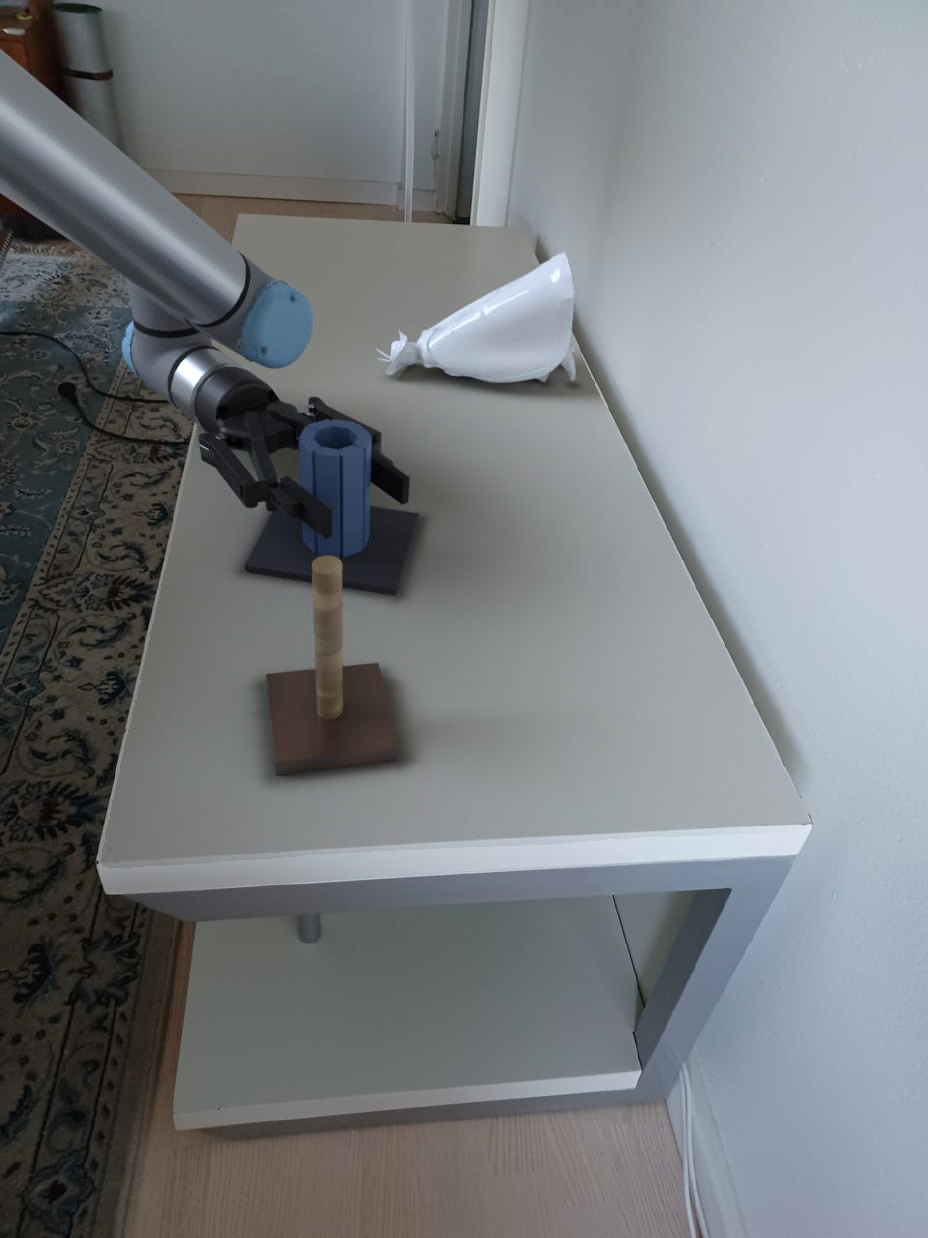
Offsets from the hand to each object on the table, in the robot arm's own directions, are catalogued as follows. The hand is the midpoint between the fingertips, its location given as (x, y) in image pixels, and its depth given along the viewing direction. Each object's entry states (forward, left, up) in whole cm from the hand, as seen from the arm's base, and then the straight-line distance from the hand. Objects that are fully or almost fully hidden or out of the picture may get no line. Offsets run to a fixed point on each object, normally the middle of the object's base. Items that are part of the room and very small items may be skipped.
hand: (368, 507), depth 80 cm
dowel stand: (+1, -19, -7) cm, 20 cm away
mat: (-4, +3, -7) cm, 8 cm away
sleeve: (-4, +3, -6) cm, 8 cm away
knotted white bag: (+4, +43, -7) cm, 44 cm away
